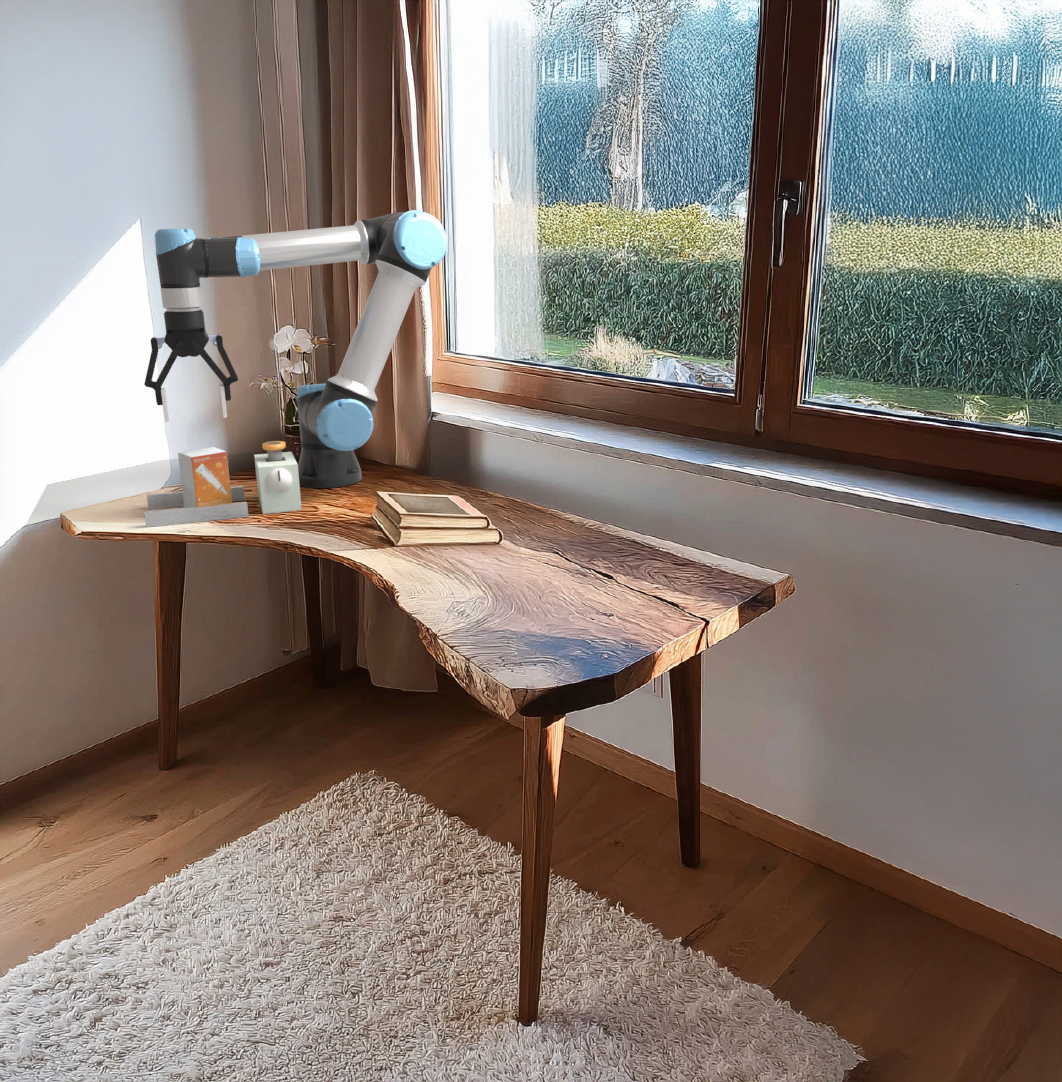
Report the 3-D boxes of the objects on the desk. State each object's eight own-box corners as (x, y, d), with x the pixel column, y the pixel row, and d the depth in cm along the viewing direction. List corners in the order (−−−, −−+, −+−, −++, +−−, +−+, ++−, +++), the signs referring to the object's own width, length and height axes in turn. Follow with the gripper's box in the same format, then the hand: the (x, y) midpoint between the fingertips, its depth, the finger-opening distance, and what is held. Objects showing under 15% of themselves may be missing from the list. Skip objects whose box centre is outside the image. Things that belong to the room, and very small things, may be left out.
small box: (197, 518, 204) (190, 457, 200) (184, 512, 209) (176, 452, 205) (233, 510, 209) (227, 450, 205) (220, 504, 214) (213, 446, 210)
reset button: (286, 467, 214) (284, 440, 212) (289, 472, 210) (286, 444, 208) (264, 469, 213) (261, 442, 211) (265, 474, 208) (263, 446, 206)
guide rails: (244, 498, 218) (243, 485, 217) (248, 516, 204) (247, 503, 203) (148, 507, 212) (146, 494, 211) (146, 527, 198) (144, 513, 197)
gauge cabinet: (295, 495, 221) (291, 451, 217) (302, 510, 208) (297, 464, 205) (258, 498, 218) (254, 454, 215) (263, 514, 206) (258, 468, 203)
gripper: (242, 305, 203) (253, 411, 210) (121, 310, 196) (137, 419, 203) (244, 308, 196) (255, 417, 203) (119, 313, 189) (135, 426, 196)
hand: (196, 418), depth 203 cm, fingers open, 11 cm apart
